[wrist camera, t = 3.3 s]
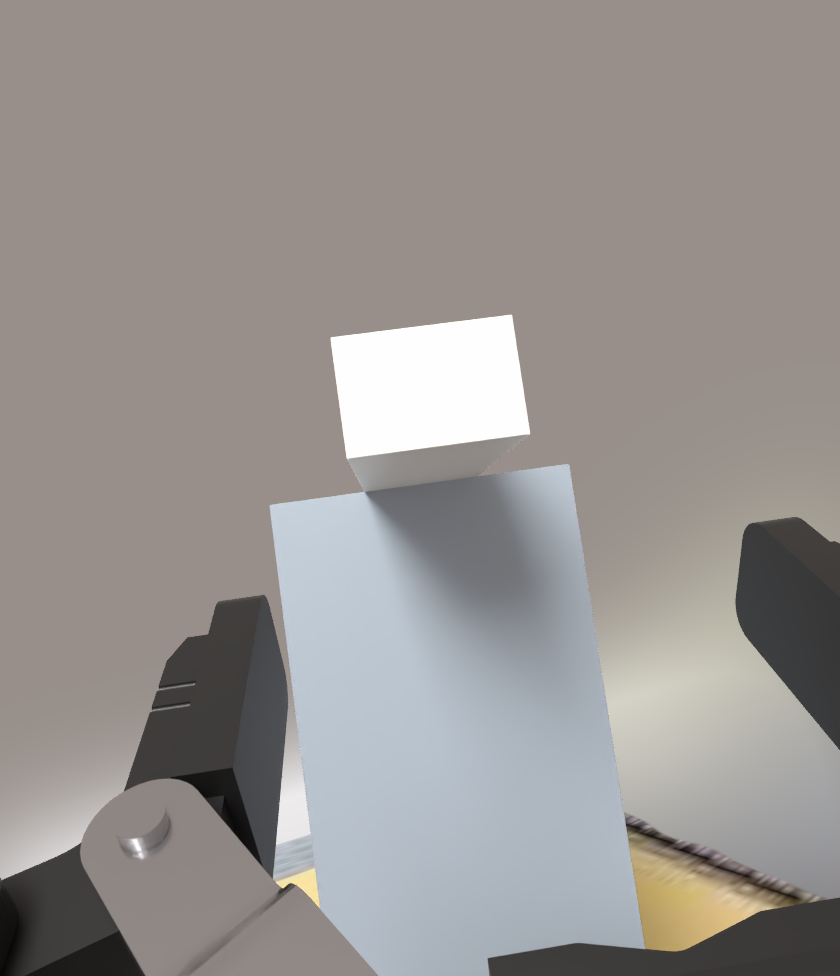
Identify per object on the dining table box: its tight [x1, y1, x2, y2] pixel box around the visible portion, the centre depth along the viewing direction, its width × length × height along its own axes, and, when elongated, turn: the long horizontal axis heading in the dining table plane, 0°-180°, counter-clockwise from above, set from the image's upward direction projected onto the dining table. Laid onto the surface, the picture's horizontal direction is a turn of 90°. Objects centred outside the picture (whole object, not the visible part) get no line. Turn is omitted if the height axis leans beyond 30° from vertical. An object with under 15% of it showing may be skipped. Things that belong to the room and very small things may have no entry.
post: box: [270, 464, 645, 976], centre depth 35 cm, size 17×13×32 cm
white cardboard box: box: [331, 315, 530, 492], centre depth 30 cm, size 26×4×6 cm, turn 2°
